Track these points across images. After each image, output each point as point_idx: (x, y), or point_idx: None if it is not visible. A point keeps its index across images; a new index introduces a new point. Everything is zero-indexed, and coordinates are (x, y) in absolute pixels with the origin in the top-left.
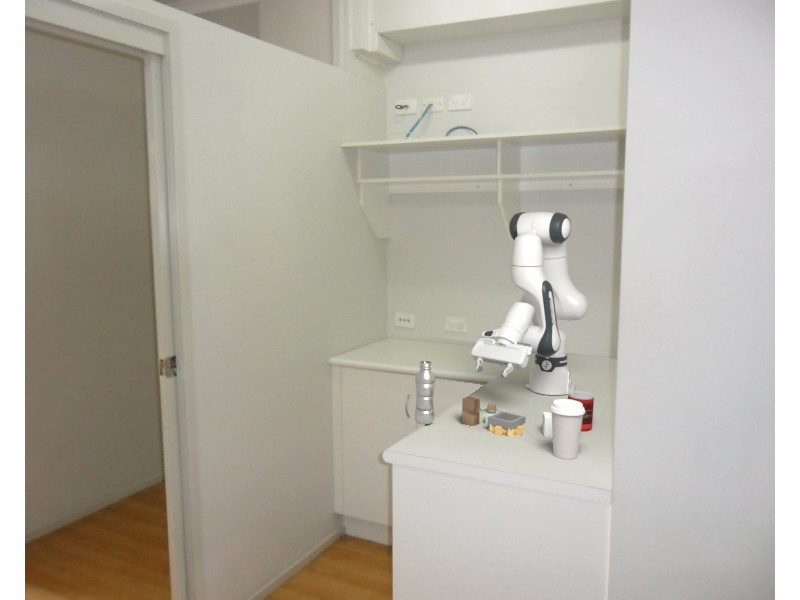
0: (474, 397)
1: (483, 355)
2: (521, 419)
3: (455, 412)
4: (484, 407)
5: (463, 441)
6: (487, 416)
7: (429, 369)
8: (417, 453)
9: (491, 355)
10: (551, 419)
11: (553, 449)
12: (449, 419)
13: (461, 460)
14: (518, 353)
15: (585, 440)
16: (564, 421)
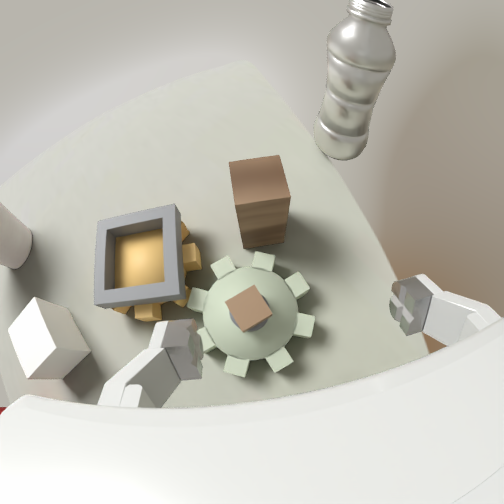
0: (259, 196)
1: (492, 335)
2: (95, 277)
3: (375, 272)
4: (310, 336)
5: (185, 138)
6: (225, 262)
7: (351, 16)
8: (208, 71)
9: (425, 388)
10: (26, 308)
11: (24, 225)
12: (330, 210)
13: (139, 100)
14: (21, 502)
15: None
16: None
